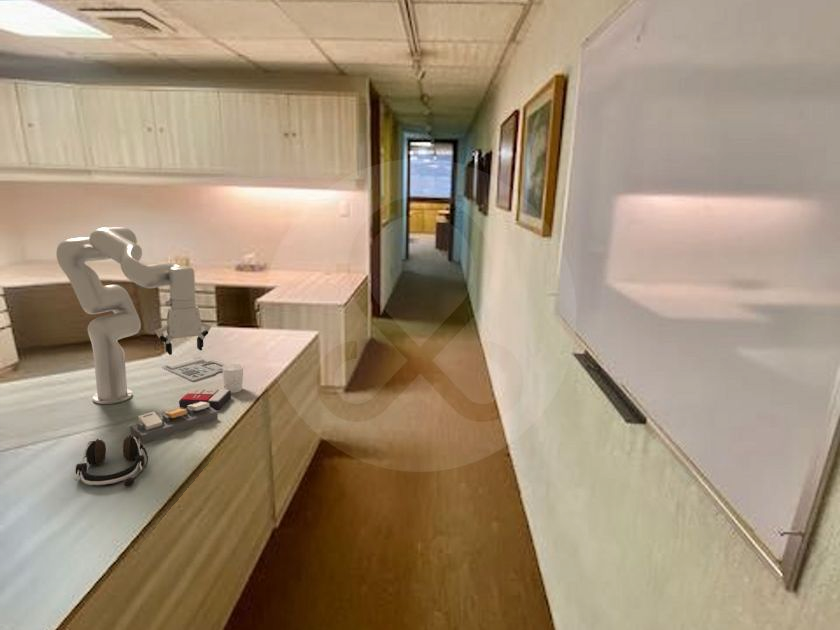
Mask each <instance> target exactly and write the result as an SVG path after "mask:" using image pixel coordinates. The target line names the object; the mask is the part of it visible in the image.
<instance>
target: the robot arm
mask: <svg viewBox="0 0 840 630" xmlns="http://www.w3.org/2000/svg"><path fill="white" fill-rule="evenodd" d="M55 252H56V261H57V263H58V265H59V267H60V268H61V270H62V272H63V273H64V274H65V276H66V277H67V279H68V281H69V282H70V284H71V287H72V288H73V291H74V293H75V295H76V297H77V300H78V301H79V304H80V306H81V308H82V309H83V311H84V312H85V313H86V314H88V315H97V314H103V313H107V312H113V313H112V314H111V313H110V314H107V315H103V316H100V317H96V318H94V319H93V320H91V321H90V322H89V324H88V326H87V334H88V337H89V339H90V340H89V341H90V342H91V347H92V355H93V361H94V362H93V364H94V371H95V372H94V373H95V383H96V393H95V394H94V395H92V401H93V403H95V404H99V405H111V404H112V405H113V404H119V403H122V402H125V401H127V400H129V399H131V398H132V397H133V391H132V390H131V389H129V388H128V384H127V383H128V381H127V380H128V379H127V369H126V368H127V367H126V357H125V350H124V348H123V347H122V345H121V344H120V343H119V342H118V340H121V339H124V338H128V337H131V336H134V335H136V334H138V333H139V332H140V331H141V327H142V324H141V323H142V322H141V319H140V317H139V314H138V312H137V310H136V308H135V305H134V302H133V300H132V299H131V296H130V294H129V293H128V291H127V290H126V289H125V288H124V287H123V286H121V285H119V284H108V285H107V284H106V285H103V283H102V282H101V280H100V277H99V275H98V273H97V272H96V271H95V270H94V269H93V268H92V267H90V265H88V264H86V263H87V262H97V261H104V260H106V261H107V260H113V261H114V262H116V263H118V264H119V265H120V269H121V271H122V273H123V275H124V276H125V277H126V278H127V279H128V280H129V281H131V282H132V283H134V284H136V285H137V286H140V287H142V288H145V289H155V288H159V287H165V286H169V297H170V298H169V299H168V300H166V301H165V305H166V306H169V307H168V309H167V316H166V324H165V325H164V326H162V327H160V328H158V329H156V330H155V331H154V332H155V334H156V335H157V336H158V338H159V339H160V340H161V341H162V342H164V346H165V348H164V349H165V352H166V353H167V354H168V355H169V356H171V355H173V347H172V343H171V342H172V341H173V340H174V339H180V338H181V339H182V338H192V337H197V338H196V348H197V349H198V351H203V348H204V339H205V337H206V336H207V335H208V334H209V332H210V330H211V328H212V326H211V325H210V324H208V323H205V322H202V319H201V314H200V308H199V306H198V305H196V286H195V285H196V283H195V281H196V280H195V279H196V278H195V270H194V268H192V267H191V266H186V265H180V264H177V263H174V262H162V263H154V264H153V263H152V264H148V265H147V264H144V263H142V262H140V261H141V259H142V256H143V250H142V247H141V246H140V245H139V244H138V240H137V236H136V234H135V232H133V231H132V230H131V229H129V228H127V227H125V226H119V227H118V226H115V227H100V228H97V229H95V230H93V231H92V232H91V233H90V234H89V236H88V237H87V236H86V237H74V238H73V237H72V238H69V239H65V240H63V241H61V242H60V243H59V244H58V246H57V247H56V251H55ZM202 328H204V330H203V329H202ZM164 332H166V333H167V335H166V336H164V335H163V333H164Z"/></svg>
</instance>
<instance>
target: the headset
mask: <svg viewBox="0 0 840 630" xmlns="http://www.w3.org/2000/svg"><path fill="white" fill-rule="evenodd" d="M106 448H107V447H106V443H105V442H104V441H103V439H99V438H96V439H95V440H93V441H92V440H91V441H89V442H88V443H87V445H86V447H85V450H84V452H83V456H82V459H81V462H80V463H77V464H76V466H75V477H74V481H78V480H79V478H80V480H81V481H82V483H83V484H85V485H88V486H93V487H96V488H97V487H102V488H103V487H109V486H115V485H118V484H122V483H123V485H124V487H125V488H128V487H131V486H132V485H133V484H134V483H135V480H136V479H137V478H138V477H139V476H140V475H141V474H142V473H143V472H144V471H145V469H146V468H147V466H148V462H149V456H148V452H147V450H146V448H145V447H144V445H143V444H142V443H141V442H140V438H139V437H138V436H133V435H132V434H129V436H126V437H125V438H124V440H123V443H122V456H123V458H124V459H125V460H126V461H133V460H134V463H132V465H131V466H128V467H127V468H125V469H122V470H121V471H119V472H115V473H110V474H102V475H99V474H98V475H94V474H90V473H89V472H88V468H89V467H92V466H93V465H95V466H97V467H98V466H100V464H103V463H104V461H105V460H106V454H107V449H106ZM142 450H143V452H144V453H145V456H144V454H142ZM145 457H146V460H145ZM85 459H86V462H84V461H85ZM143 466H144V467H143ZM138 469H139V470H140V472H138ZM137 472H138V474H137V475H136V476H134V475H135V474H136V473H137ZM133 476H134V477H133Z"/></svg>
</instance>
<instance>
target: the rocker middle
mask: <svg viewBox="0 0 840 630" xmlns="http://www.w3.org/2000/svg"><path fill="white" fill-rule="evenodd" d="M185 409H186V408H180V407H178V408H174V409H172V410H168V411H167V410H166V411H165V412H163V415H164V414H166V415H167V416H169V418H175V417H178V416H181V415H184V414H187V411H186V410H185Z"/></svg>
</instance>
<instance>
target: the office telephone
mask: <svg viewBox="0 0 840 630" xmlns="http://www.w3.org/2000/svg"><path fill="white" fill-rule="evenodd" d="M213 364H214V365H216V366H217V365H218V366H220V367H221V368H218V369H214V368H213V367H209V366H208V365H213ZM224 365H226V364H225V363H222V362H219V361H216V360H213V359H212V360H209V361H207V360H206V359H204V358H202V357H201V356H197V357H194V358H190V359H185V360H182V361H179V362H175V363H171V364H167V365H164V366H162V367H161V368H162V369H163V368H164V369H163V370H165V369H166V371H167V370H168V371H167V372H170V373H172V372H173V374H174V373H175V375H176V376H178V377H179V376H180V377H181V378H184V379H185V380H187V381H189V382H192V383H194V382H198V381H201V380H204V379H207V378H211V377H213V376H216V375H218V374H220V373H223V370H222V367H223V366H224Z"/></svg>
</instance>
